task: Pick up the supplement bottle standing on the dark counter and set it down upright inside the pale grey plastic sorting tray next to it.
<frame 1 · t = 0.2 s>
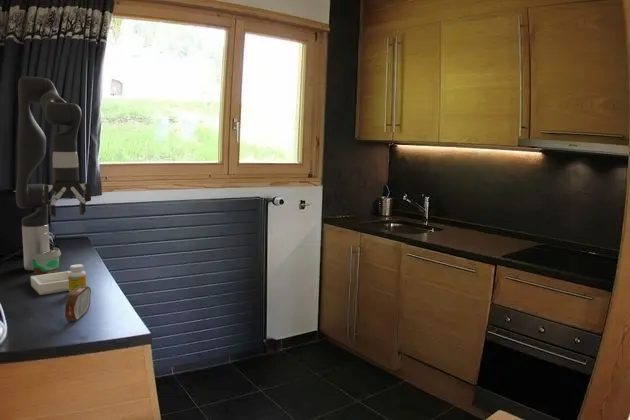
hand: (67, 215, 175), 27 cm above the table, tool pointing down, fingers open, 8 cm apart
supplement bottle: (78, 294, 181), on the table
ice cream tub: (51, 277, 200), on the table
tin: (79, 317, 160), on the table
sorting tray: (55, 287, 188), on the table
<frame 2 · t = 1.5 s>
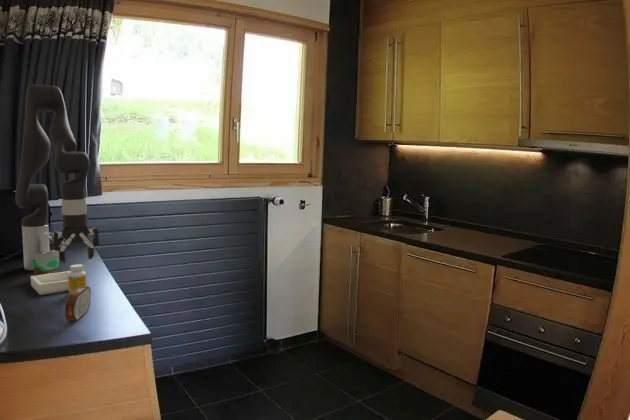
hand: (76, 260, 179), 11 cm above the table, tool pointing down, fingers open, 8 cm apart
nothing on the table moved.
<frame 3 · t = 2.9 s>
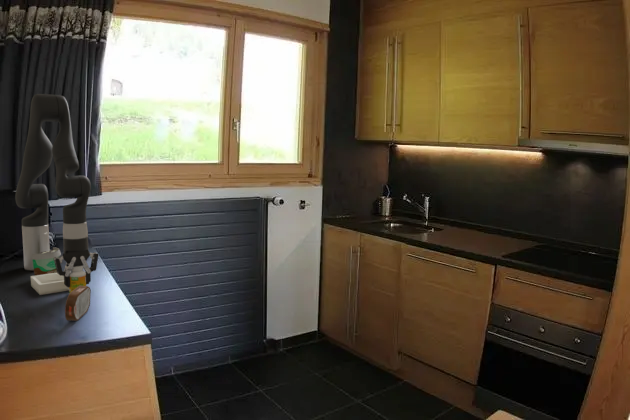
hand: (77, 285, 180), 3 cm above the table, tool pointing down, fingers closed on supplement bottle, 5 cm apart
supplement bottle: (78, 294, 181), on the table, touching gripper
everything else where it was.
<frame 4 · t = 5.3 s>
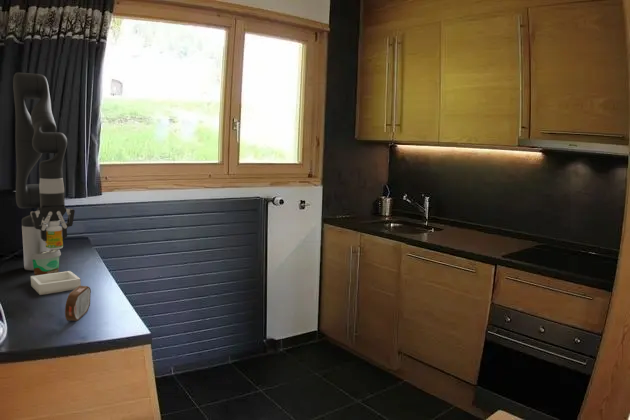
hand: (54, 239, 185), 17 cm above the table, tool pointing down, fingers closed on supplement bottle, 5 cm apart
supplement bottle: (54, 248, 186), point 14 cm above the table, touching gripper
everything else where it was.
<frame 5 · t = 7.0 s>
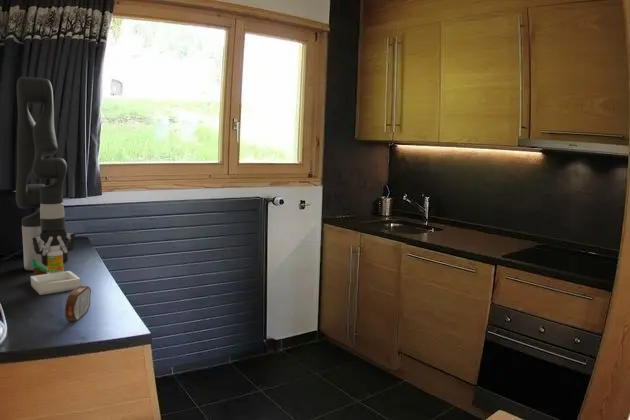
hand: (54, 264, 186), 8 cm above the table, tool pointing down, fingers closed on supplement bottle, 5 cm apart
supplement bottle: (55, 273, 187), point 5 cm above the table, touching gripper
everything else where it was.
when the fingers open (6 cm above the table, at t = 8.0 s): supplement bottle drops 2 cm, resting on sorting tray.
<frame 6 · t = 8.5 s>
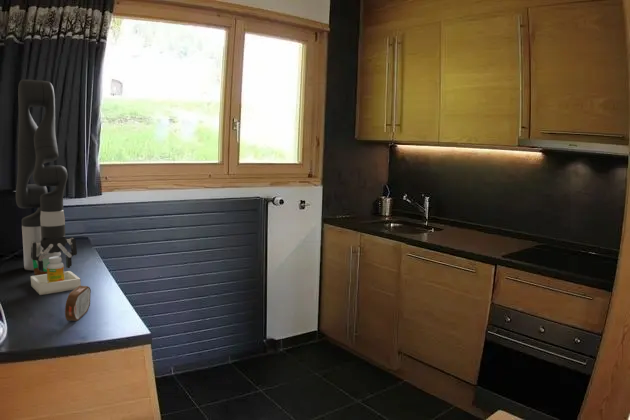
hand: (55, 269, 187), 6 cm above the table, tool pointing down, fingers open, 8 cm apart
supplement bottle: (56, 285, 188), point 1 cm above the table, touching sorting tray
everything else where it was.
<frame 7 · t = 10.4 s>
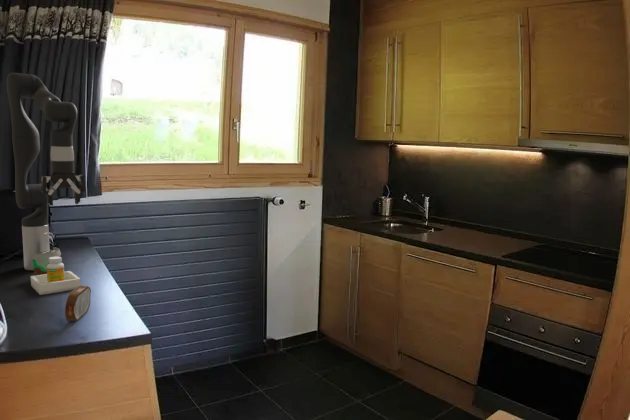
hand: (64, 204, 192), 28 cm above the table, tool pointing down, fingers open, 8 cm apart
nothing on the table moved.
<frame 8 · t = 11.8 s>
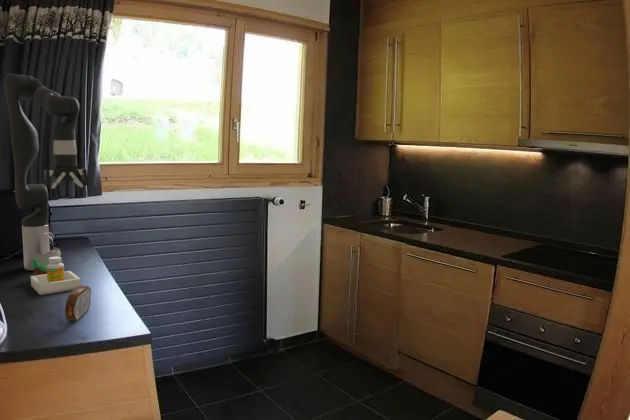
hand: (67, 198, 194), 30 cm above the table, tool pointing down, fingers open, 8 cm apart
nothing on the table moved.
at the end: supplement bottle inside the target area on the sorting tray (0.2 cm from its centre), point 0.6 cm above the sorting tray's base; supplement bottle tilted 0°; the gripper is holding nothing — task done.
